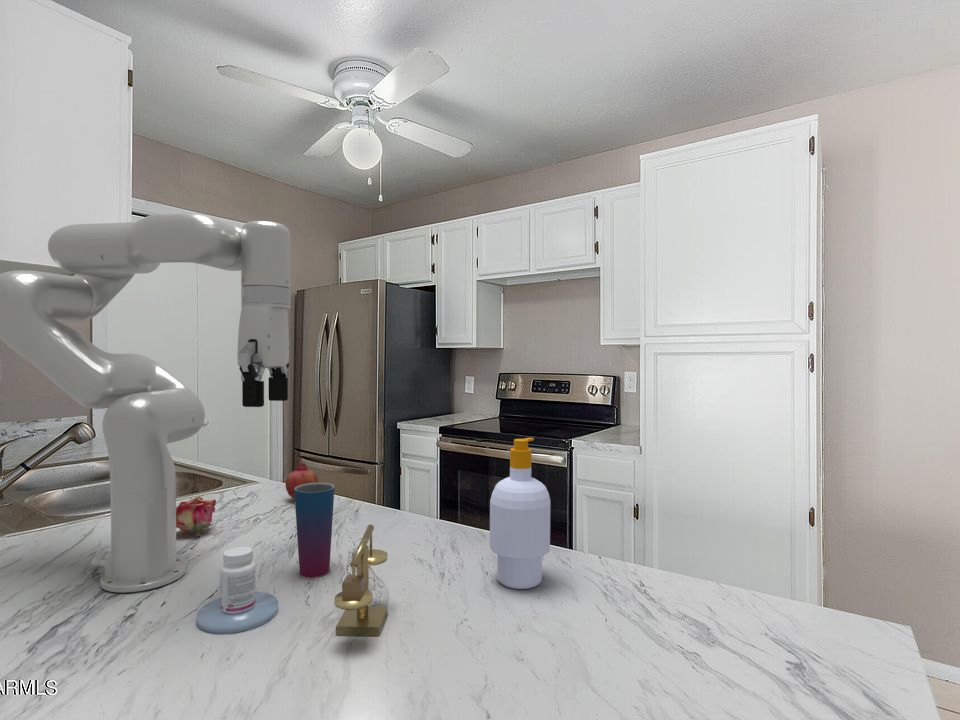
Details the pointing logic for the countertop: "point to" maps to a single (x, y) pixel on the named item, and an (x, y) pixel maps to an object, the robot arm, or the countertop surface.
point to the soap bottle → (520, 522)
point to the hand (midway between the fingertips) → (266, 403)
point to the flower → (195, 515)
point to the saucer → (237, 615)
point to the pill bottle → (237, 580)
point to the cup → (314, 527)
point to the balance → (361, 593)
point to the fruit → (300, 478)
